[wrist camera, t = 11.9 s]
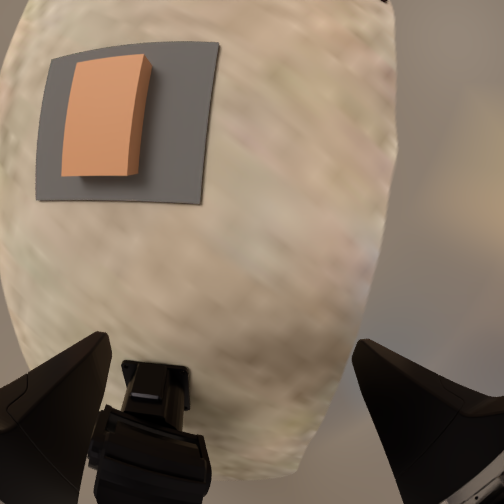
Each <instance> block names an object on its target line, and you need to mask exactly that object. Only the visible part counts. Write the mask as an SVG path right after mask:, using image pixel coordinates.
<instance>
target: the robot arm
mask: <svg viewBox="0 0 504 504" xmlns="http://www.w3.org/2000/svg"><path fill="white" fill-rule="evenodd" d="M111 359H112V350H111V345H110V341H109V336H108V334H107V333H106V332H99V331H96V332H94V333H93V334H91V335H89V336H88V337H86V338H84V339H83V340H81V341H79V342H78V343H76V344H74V345H73V346H71V347H69V348H68V349H66V350H64V351H63V352H61V353H59V354H58V355H56V356H54V357H53V358H51V359H49V360H48V361H46V362H44V363H43V364H41V365H40V366H38V367H36V368H35V369H33V370H31V371H30V372H28V374H25V375H23V376H21V377H20V378H18V379H16V380H15V381H13V382H11V383H10V384H8V385H6V386H4V387H2V388H0V504H77V503H78V497H79V491H80V485H81V480H82V475H83V470H84V466H85V461H86V457H87V454H88V457H87V458H88V459H89V464H88V467H90V468H92V469H94V470H97V475H96V480H95V485H94V496H95V498H96V500H97V503H98V504H202V500H203V497H204V496H205V495H206V494H207V492H208V490H209V487H210V483H211V476H212V471H211V464H210V461H209V457H208V453H207V449H206V445H205V440H204V436H202V435H198V434H197V435H194V434H190V433H186V432H183V431H182V427H183V412H184V411H188V410H190V395H189V378H188V369H187V368H186V367H184V366H172V365H162V364H152V363H143V362H135V361H128V360H124V361H123V362H122V364H121V367H122V371H123V375H124V379H125V383H126V386H127V390H126V394H125V397H124V401H123V404H122V408H121V411H119V410H117V409H114V408H112V406H110V405H107V404H106V406H105V409H104V411H103V410H101V411H99V409H100V406H101V402H102V399H103V396H104V392H105V388H106V382H107V377H108V373H109V368H110V363H111ZM352 364H353V367H354V370H355V374H356V377H357V380H358V384H359V387H360V390H361V393H362V396H363V398H364V401H365V403H366V405H367V408H368V410H369V412H370V415H371V418H372V420H373V423H374V425H375V427H376V430H377V432H378V435H379V437H380V440H381V442H382V445H383V448H384V450H385V453H386V456H387V458H388V461H389V464H390V466H391V469H392V472H393V474H394V477H395V479H396V483H397V486H398V489H399V491H400V495H401V497H402V500H403V503H404V504H441V503H442V502H444V501H445V502H446V503H447V504H504V396H501V397H491V396H487V395H485V394H482V393H479V392H477V391H474V390H472V389H469V388H467V387H464V386H462V385H459V384H457V383H455V382H453V381H451V380H449V379H446V378H444V377H442V376H440V375H438V374H436V373H434V372H432V371H430V370H428V369H426V368H424V367H422V366H421V365H419V364H417V363H415V362H413V361H411V360H409V359H407V358H405V357H403V356H401V355H399V354H397V353H395V352H393V351H391V350H389V349H388V348H386V347H384V346H382V345H380V344H378V343H376V342H374V341H372V340H370V339H360V340H359V341H358V342H357V344H356V347H355V350H354V352H353V355H352ZM126 365H127V366H126ZM181 371H184V372H181Z"/></svg>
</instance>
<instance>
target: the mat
mask: <svg viewBox="0 0 504 504" xmlns="http://www.w3.org/2000/svg"><path fill="white" fill-rule="evenodd" d="M218 47H219V43H218V42H193V41H176V42H151V43H138V44H128V45H120V46H113V47H106V48H100V49H95V50H89V51H84V52H80V53H75V54H71V55H67V56H63V57H59V58H55V59H52V60H51V64H50V68H49V72H48V76H47V81H46V85H45V90H44V95H43V101H42V107H41V114H40V121H39V130H38V140H37V153H36V200H122V201H153V202H175V203H194V204H200V200H201V187H202V175H203V164H204V153H205V143H206V134H207V125H208V117H209V109H210V101H211V93H212V86H213V79H214V72H215V66H216V60H217V53H218ZM136 54H144V55H145V56H146V58H147V59H148V60H149V62H150V63H151V65H152V70H151V75H150V81H149V86H148V92H147V98H146V105H145V112H144V119H143V127H142V136H141V145H140V156H139V169H138V174H133V175H128V176H62V177H61V172H62V153H63V141H64V131H65V123H66V115H67V109H68V102H69V97H70V91H71V86H72V81H73V77H74V72H75V68H76V64H77V63H78V62H83V61H89V60H95V59H101V58H108V57H116V56H125V55H136Z"/></svg>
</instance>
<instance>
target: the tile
mask: <svg viewBox="0 0 504 504" xmlns="http://www.w3.org/2000/svg"><path fill="white" fill-rule="evenodd" d="M151 70H152V65H151V63H150V62H149V60H148V59H147V58H146V56H145V55H144V54H136V55H125V56H116V57H108V58H101V59H95V60H89V61H83V62H78V63H77V64H76V68H75V72H74V77H73V81H72V86H71V91H70V97H69V102H68V109H67V115H66V123H65V131H64V141H63V153H62V172H61V177H62V176H128V175H133V174H138V169H139V156H140V145H141V136H142V127H143V119H144V112H145V105H146V98H147V92H148V86H149V81H150V75H151Z"/></svg>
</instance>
